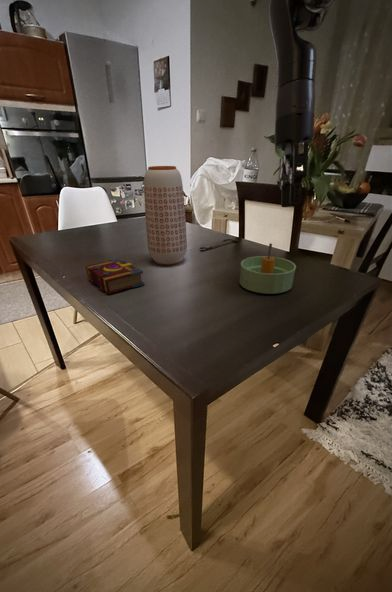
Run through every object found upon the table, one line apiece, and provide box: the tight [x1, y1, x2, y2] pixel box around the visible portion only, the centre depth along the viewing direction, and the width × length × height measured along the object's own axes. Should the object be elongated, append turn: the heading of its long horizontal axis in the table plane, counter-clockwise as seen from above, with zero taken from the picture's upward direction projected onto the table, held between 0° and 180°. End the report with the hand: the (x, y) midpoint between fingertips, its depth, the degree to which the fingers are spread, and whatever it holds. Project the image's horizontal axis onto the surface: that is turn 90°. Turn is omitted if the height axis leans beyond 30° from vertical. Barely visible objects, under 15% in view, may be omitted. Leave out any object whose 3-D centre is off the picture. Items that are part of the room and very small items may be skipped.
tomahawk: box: [199, 238, 239, 250], centre depth 115 cm, size 21×7×1 cm, turn 132°
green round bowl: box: [238, 255, 297, 295], centre depth 80 cm, size 15×15×6 cm
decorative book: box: [85, 257, 145, 295], centre depth 83 cm, size 11×16×5 cm
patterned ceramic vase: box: [143, 165, 188, 267], centre depth 91 cm, size 13×13×28 cm
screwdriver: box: [261, 242, 275, 274], centre depth 79 cm, size 3×3×11 cm
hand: (290, 205), depth 63 cm, fingers open, 8 cm apart
